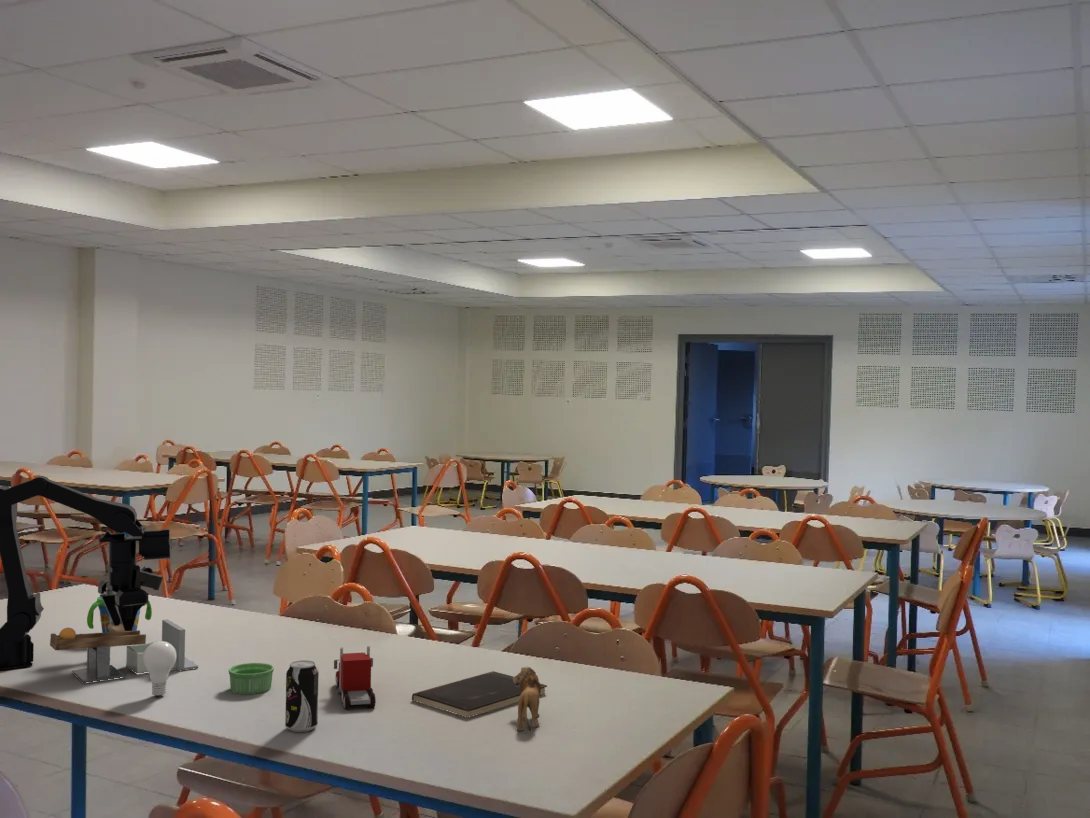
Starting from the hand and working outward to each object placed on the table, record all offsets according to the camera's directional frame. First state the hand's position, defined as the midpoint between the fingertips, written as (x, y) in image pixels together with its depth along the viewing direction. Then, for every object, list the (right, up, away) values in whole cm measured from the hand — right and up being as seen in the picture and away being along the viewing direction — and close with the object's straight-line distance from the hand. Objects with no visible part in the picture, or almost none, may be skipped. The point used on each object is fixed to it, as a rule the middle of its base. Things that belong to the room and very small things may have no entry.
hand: (122, 629), depth 228 cm
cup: (+9, -7, -6) cm, 13 cm away
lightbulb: (+18, -8, -27) cm, 33 cm away
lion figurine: (+92, -10, -37) cm, 100 cm away
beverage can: (+51, -9, -44) cm, 68 cm away
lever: (-4, -1, -8) cm, 9 cm away
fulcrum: (0, -7, -13) cm, 15 cm away
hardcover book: (+82, -10, -23) cm, 86 cm away
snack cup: (-9, -7, +20) cm, 23 cm away
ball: (-4, +2, -17) cm, 18 cm away
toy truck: (+57, -9, -23) cm, 62 cm away
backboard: (+14, -7, -2) cm, 16 cm away
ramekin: (+35, -8, -20) cm, 41 cm away
